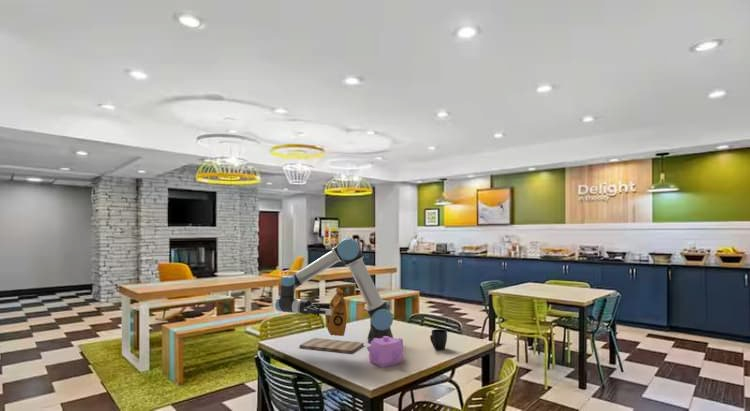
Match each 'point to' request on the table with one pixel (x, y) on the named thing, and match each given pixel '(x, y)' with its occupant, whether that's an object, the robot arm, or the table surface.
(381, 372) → the table surface
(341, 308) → the coffee package
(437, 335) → the mug
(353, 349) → the walnut board
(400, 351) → the teakettle
